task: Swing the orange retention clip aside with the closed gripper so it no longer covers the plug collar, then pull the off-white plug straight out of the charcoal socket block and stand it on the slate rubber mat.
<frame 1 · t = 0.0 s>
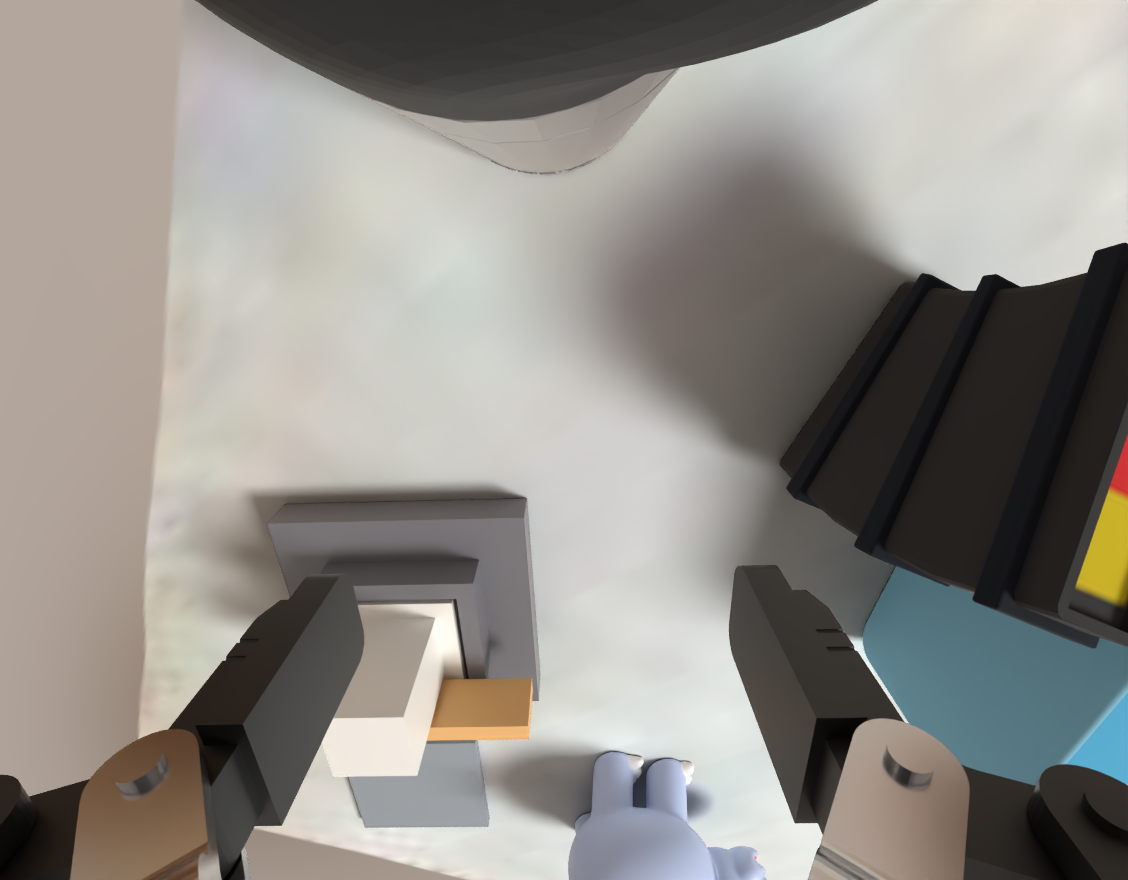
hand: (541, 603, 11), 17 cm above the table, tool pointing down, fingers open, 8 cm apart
plug: (414, 620, 31), point 2 cm above the table, touching socket block
clip: (405, 709, 29), point 6 cm above the table, hinge at 0.0°
mat: (419, 779, 41), on the table
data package: (925, 571, 32), on the table
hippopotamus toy: (650, 797, 42), on the table
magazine: (870, 368, 27), on the table
socket block: (423, 596, 33), on the table
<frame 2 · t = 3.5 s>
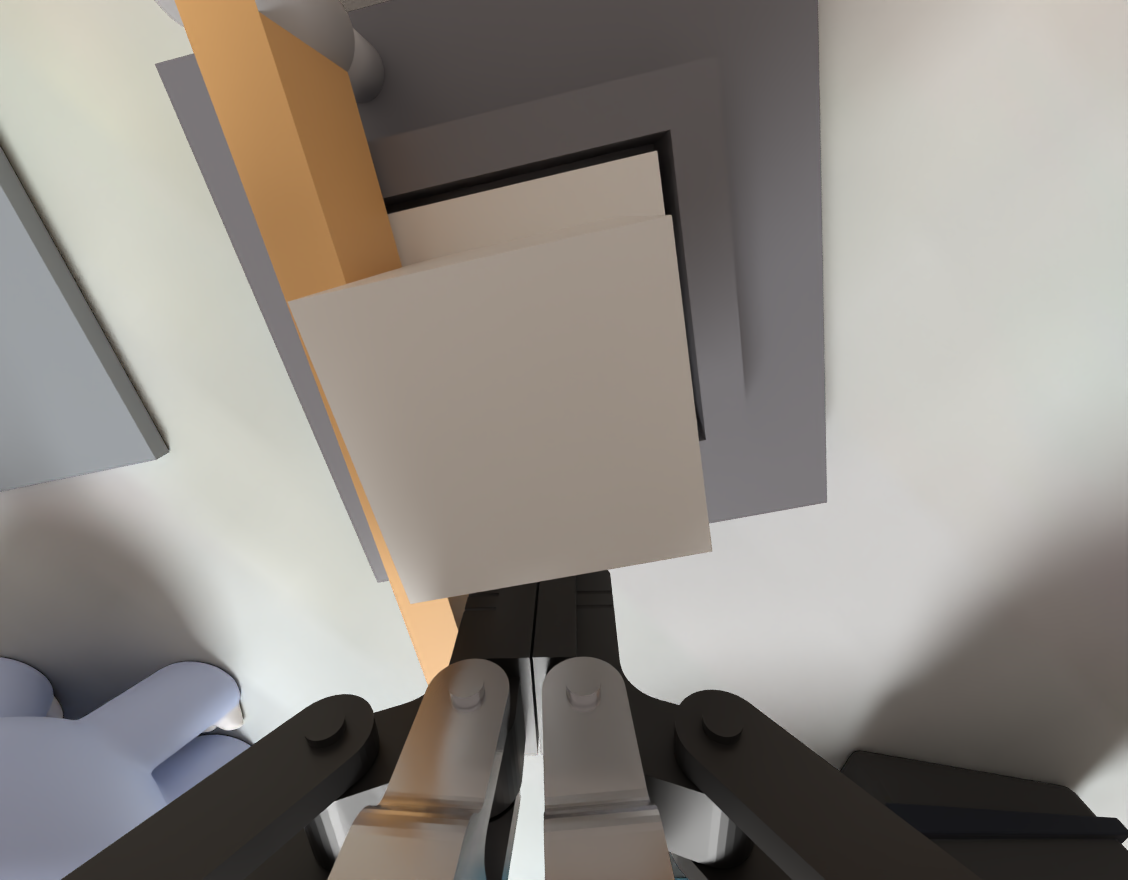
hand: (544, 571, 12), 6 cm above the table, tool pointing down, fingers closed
plug: (544, 317, 13), point 2 cm above the table, touching socket block
clip: (386, 389, 10), point 6 cm above the table, hinge at 2.2°, touching gripper
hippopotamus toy: (139, 744, 23), on the table
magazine: (966, 787, 24), on the table
socket block: (546, 305, 15), on the table
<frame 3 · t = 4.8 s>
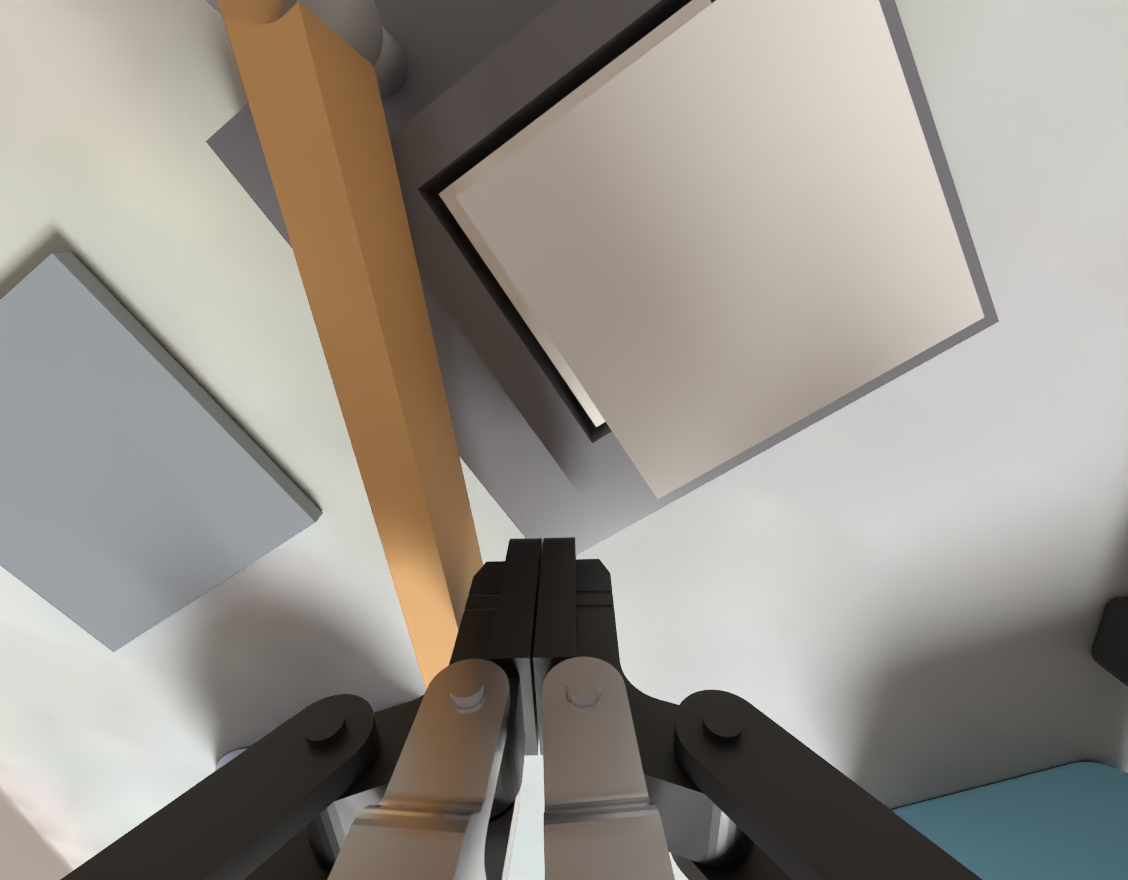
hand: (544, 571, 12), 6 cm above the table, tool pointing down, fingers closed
plug: (630, 237, 13), point 2 cm above the table, touching socket block
clip: (397, 385, 10), point 6 cm above the table, hinge at 26.3°, touching gripper
mat: (102, 475, 17), on the table
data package: (973, 811, 25), on the table
socket block: (621, 235, 15), on the table
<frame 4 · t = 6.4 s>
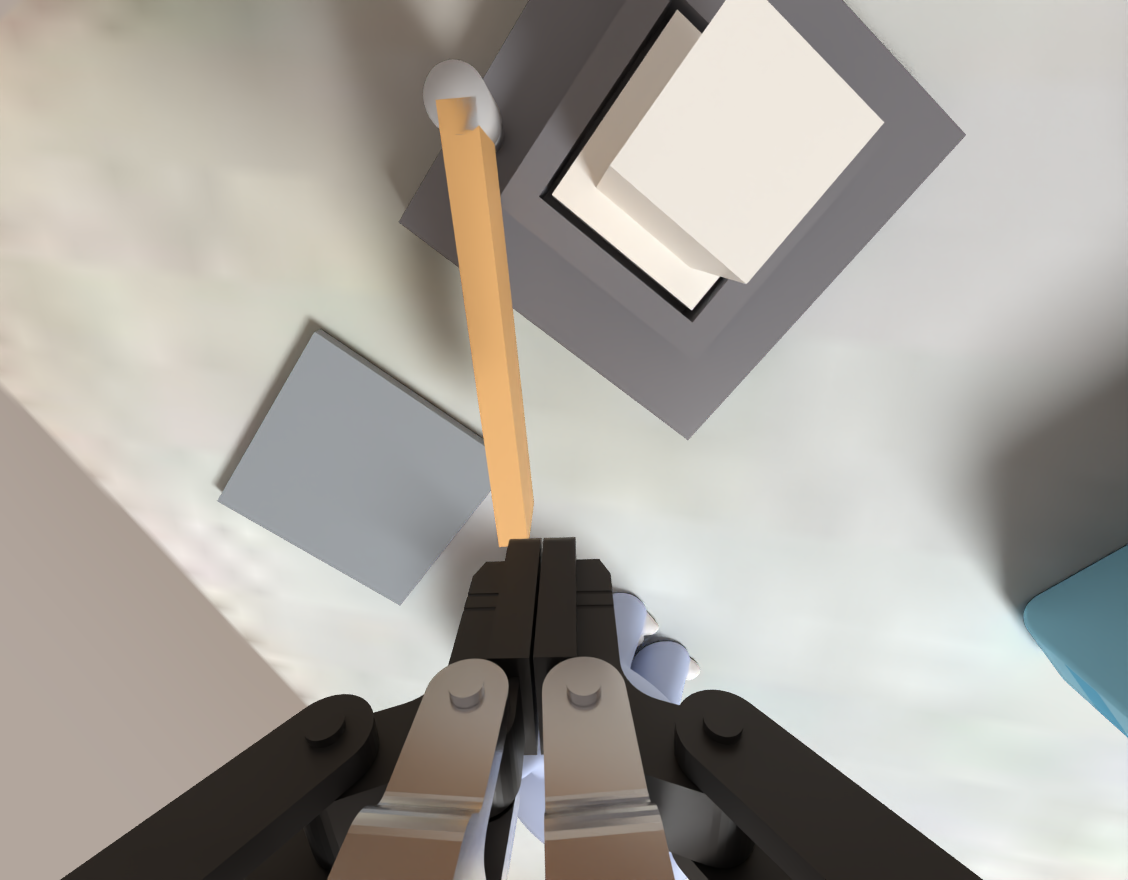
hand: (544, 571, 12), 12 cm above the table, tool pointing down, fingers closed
plug: (673, 179, 18), point 2 cm above the table, touching socket block
clip: (494, 334, 17), point 6 cm above the table, hinge at 48.6°
mat: (366, 477, 25), on the table
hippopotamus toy: (603, 686, 30), on the table
socket block: (663, 184, 20), on the table
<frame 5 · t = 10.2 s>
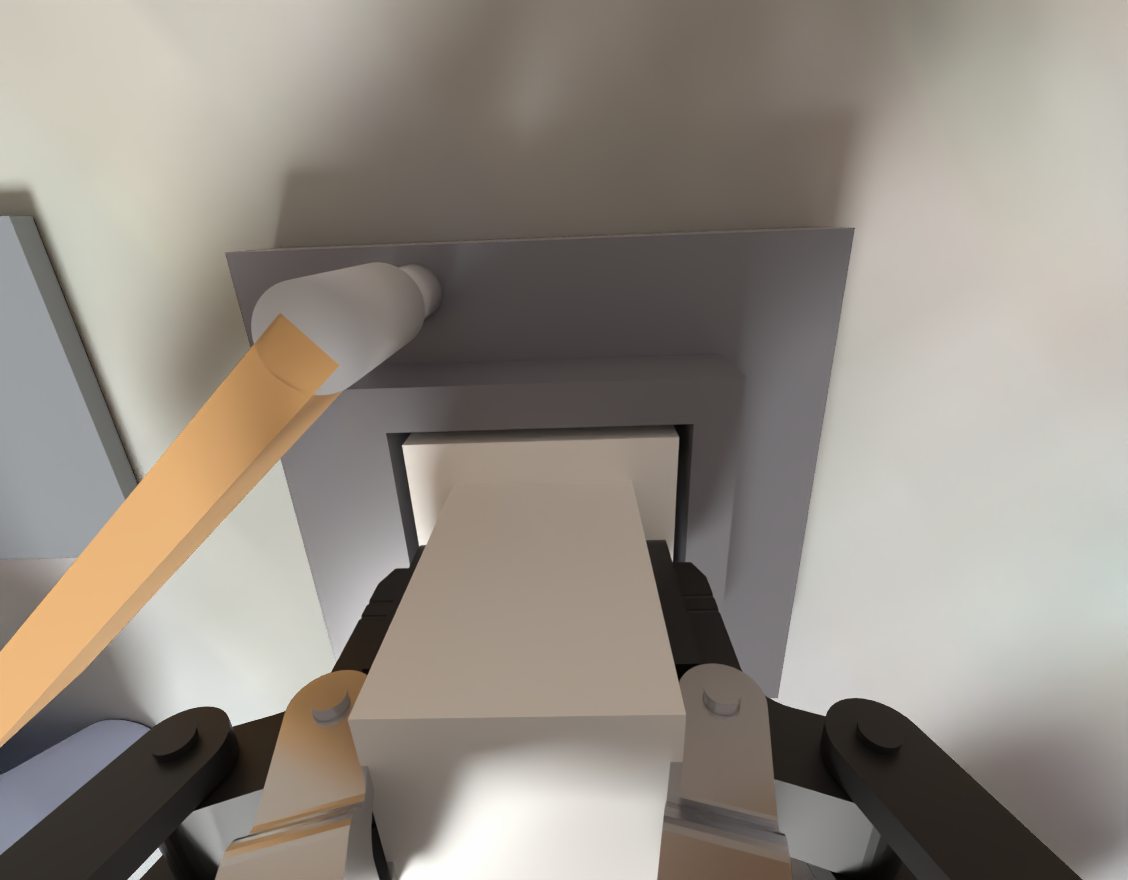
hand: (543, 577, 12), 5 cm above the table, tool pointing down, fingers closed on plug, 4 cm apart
plug: (549, 514, 14), point 2 cm above the table, touching gripper, socket block
clip: (161, 536, 10), point 6 cm above the table, hinge at 48.6°
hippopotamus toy: (53, 783, 23), on the table
socket block: (552, 480, 16), on the table
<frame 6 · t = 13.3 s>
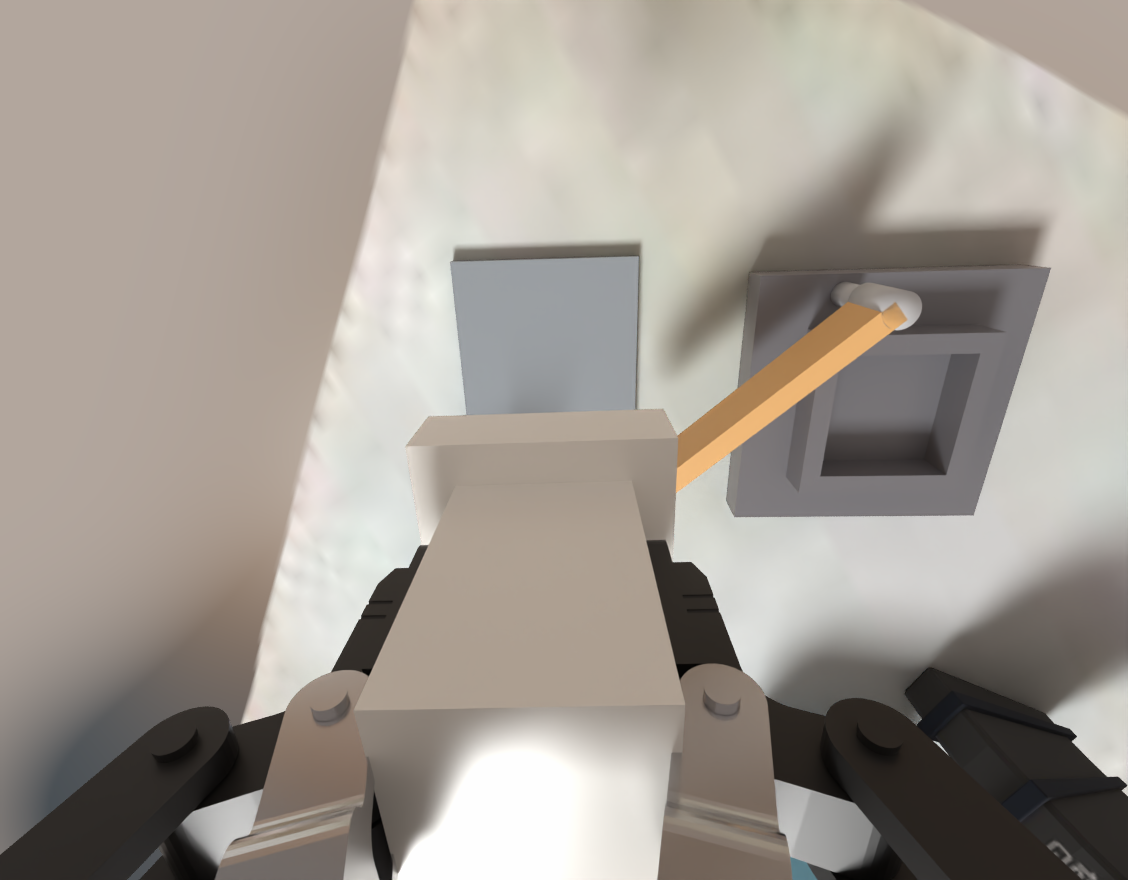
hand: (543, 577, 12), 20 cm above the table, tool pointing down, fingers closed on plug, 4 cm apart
plug: (550, 515, 14), point 17 cm above the table, touching gripper
clip: (765, 394, 25), point 6 cm above the table, hinge at 48.6°
mat: (548, 350, 30), on the table
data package: (798, 756, 43), on the table
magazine: (983, 704, 40), on the table
socket block: (858, 394, 31), on the table
when the fingers open (5 cm above the table, at t = 16.6 s): plug drops 1 cm, resting on mat.
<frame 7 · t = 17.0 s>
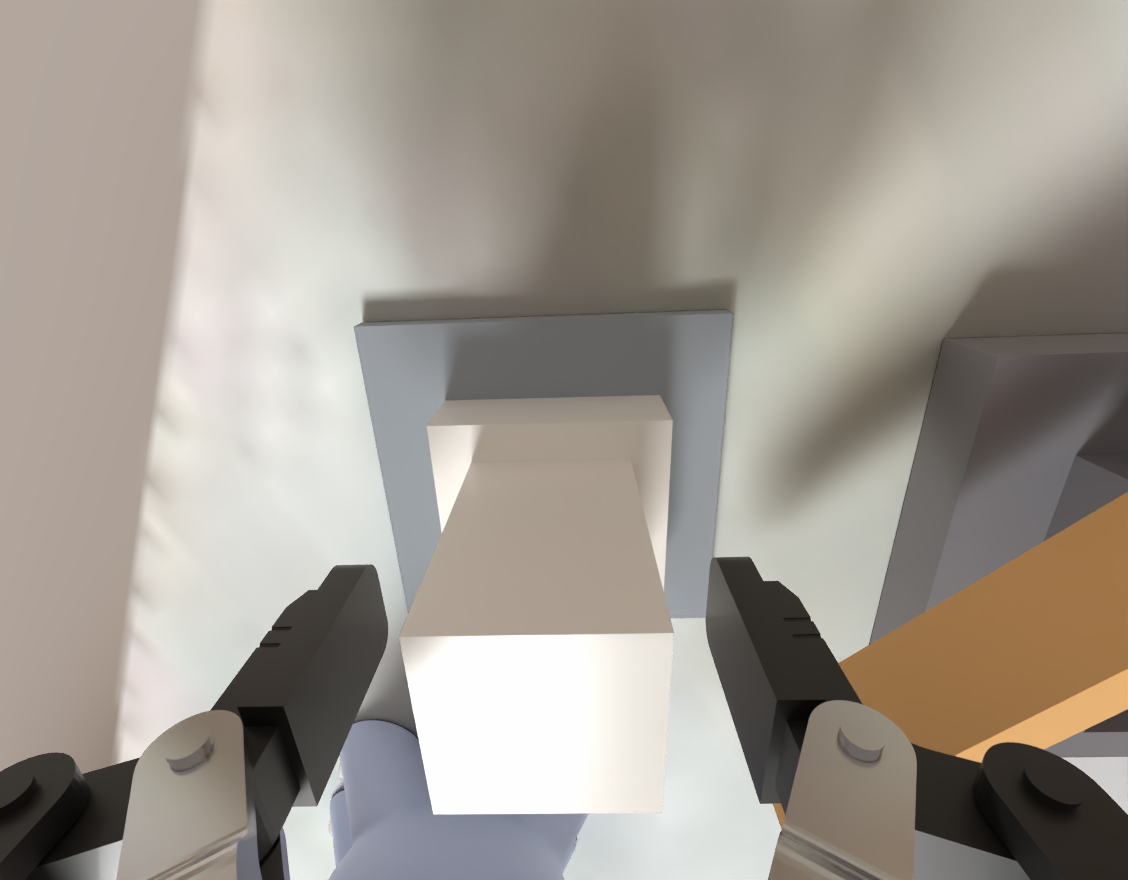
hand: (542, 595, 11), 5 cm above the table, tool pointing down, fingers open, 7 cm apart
plug: (555, 492, 16), point 1 cm above the table, touching mat
clip: (1048, 635, 11), point 6 cm above the table, hinge at 48.6°
mat: (551, 479, 16), on the table
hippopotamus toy: (457, 813, 23), on the table
socket block: (1111, 547, 17), on the table
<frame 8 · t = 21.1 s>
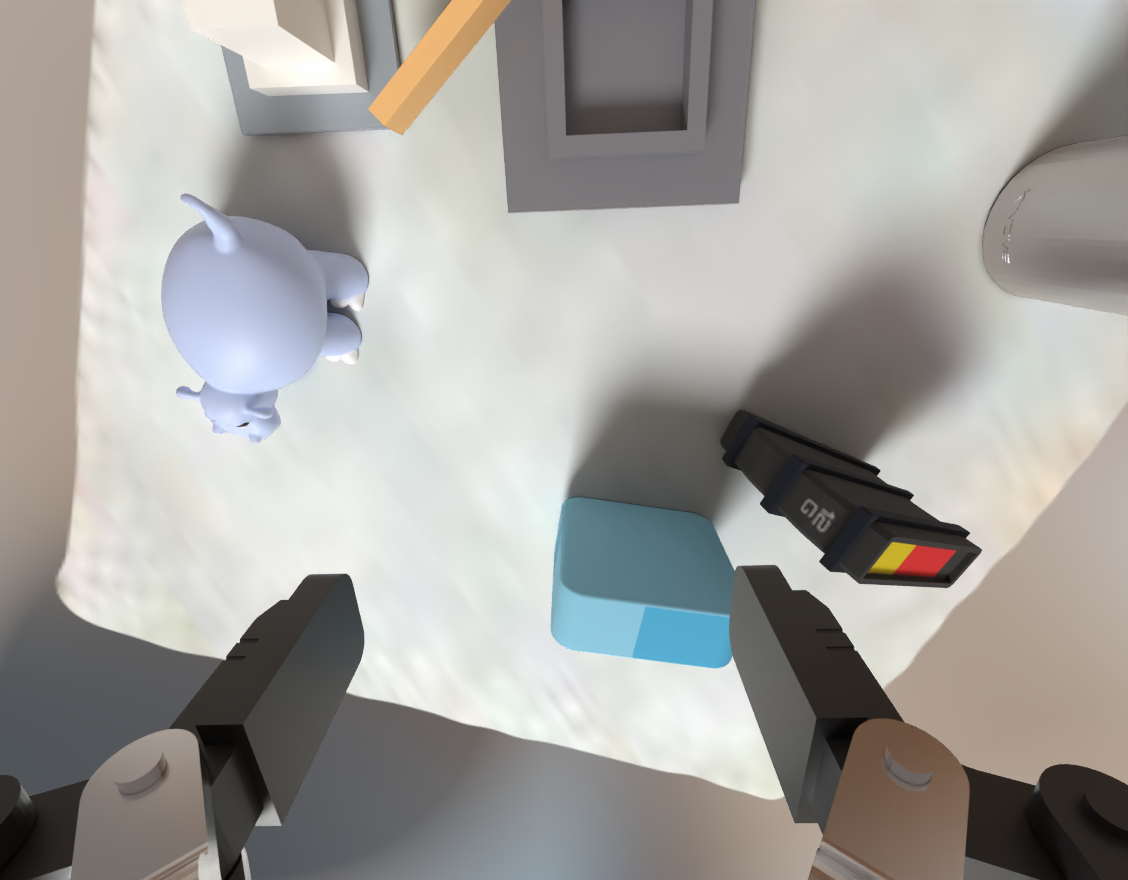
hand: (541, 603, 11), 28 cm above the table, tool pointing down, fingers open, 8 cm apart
plug: (307, 32, 30), point 1 cm above the table, touching mat
clip: (476, 7, 25), point 6 cm above the table, hinge at 48.6°
mat: (309, 32, 30), on the table
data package: (630, 526, 43), on the table
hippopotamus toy: (287, 315, 37), on the table
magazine: (800, 455, 41), on the table
socket block: (620, 79, 31), on the table
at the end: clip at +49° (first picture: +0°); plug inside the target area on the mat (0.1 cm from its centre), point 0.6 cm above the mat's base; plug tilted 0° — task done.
